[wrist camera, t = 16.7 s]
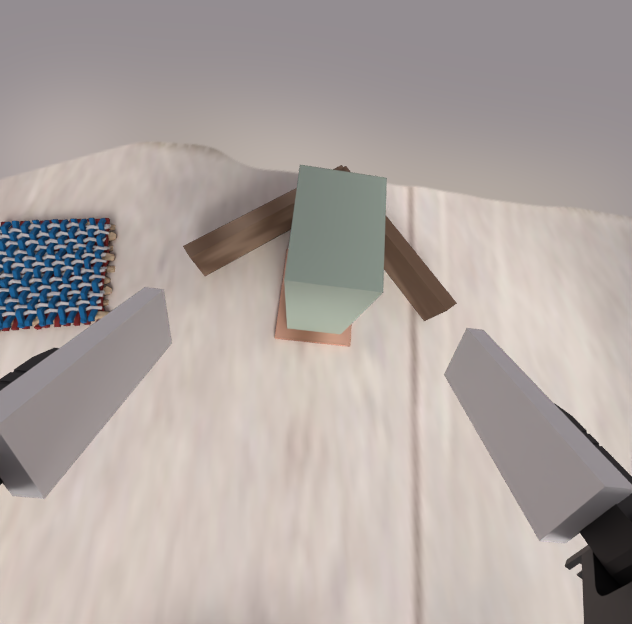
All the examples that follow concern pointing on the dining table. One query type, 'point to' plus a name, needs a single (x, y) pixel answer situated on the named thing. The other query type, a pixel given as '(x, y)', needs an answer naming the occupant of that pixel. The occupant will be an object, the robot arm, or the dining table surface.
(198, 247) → the walnut corner arena
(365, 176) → the sage block
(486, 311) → the dining table surface
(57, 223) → the woven mat
